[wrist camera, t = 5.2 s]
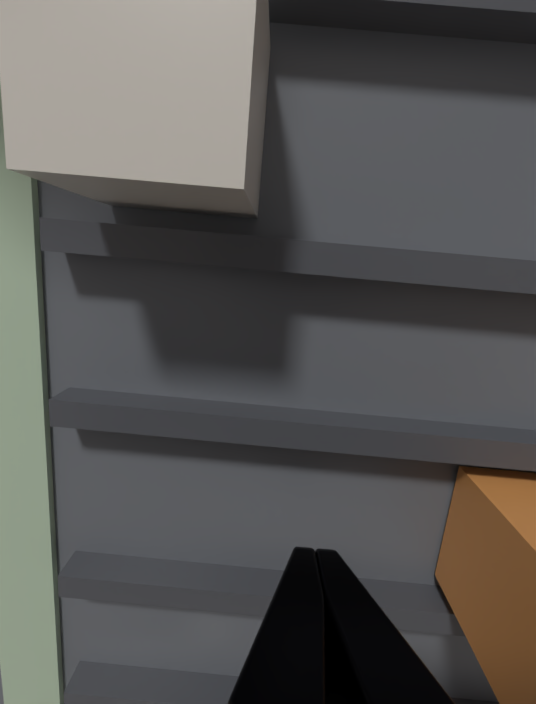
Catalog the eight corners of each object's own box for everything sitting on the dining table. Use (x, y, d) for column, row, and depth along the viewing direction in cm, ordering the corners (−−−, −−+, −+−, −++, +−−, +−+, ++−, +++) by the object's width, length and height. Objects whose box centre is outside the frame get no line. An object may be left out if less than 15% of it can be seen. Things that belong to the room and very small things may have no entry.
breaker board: (823, 92, 8) (1552, -140, 4) (572, 758, 13) (741, 1043, 8) (-45, 20, 9) (-457, -291, 4) (16, 702, 13) (-133, 949, 9)
